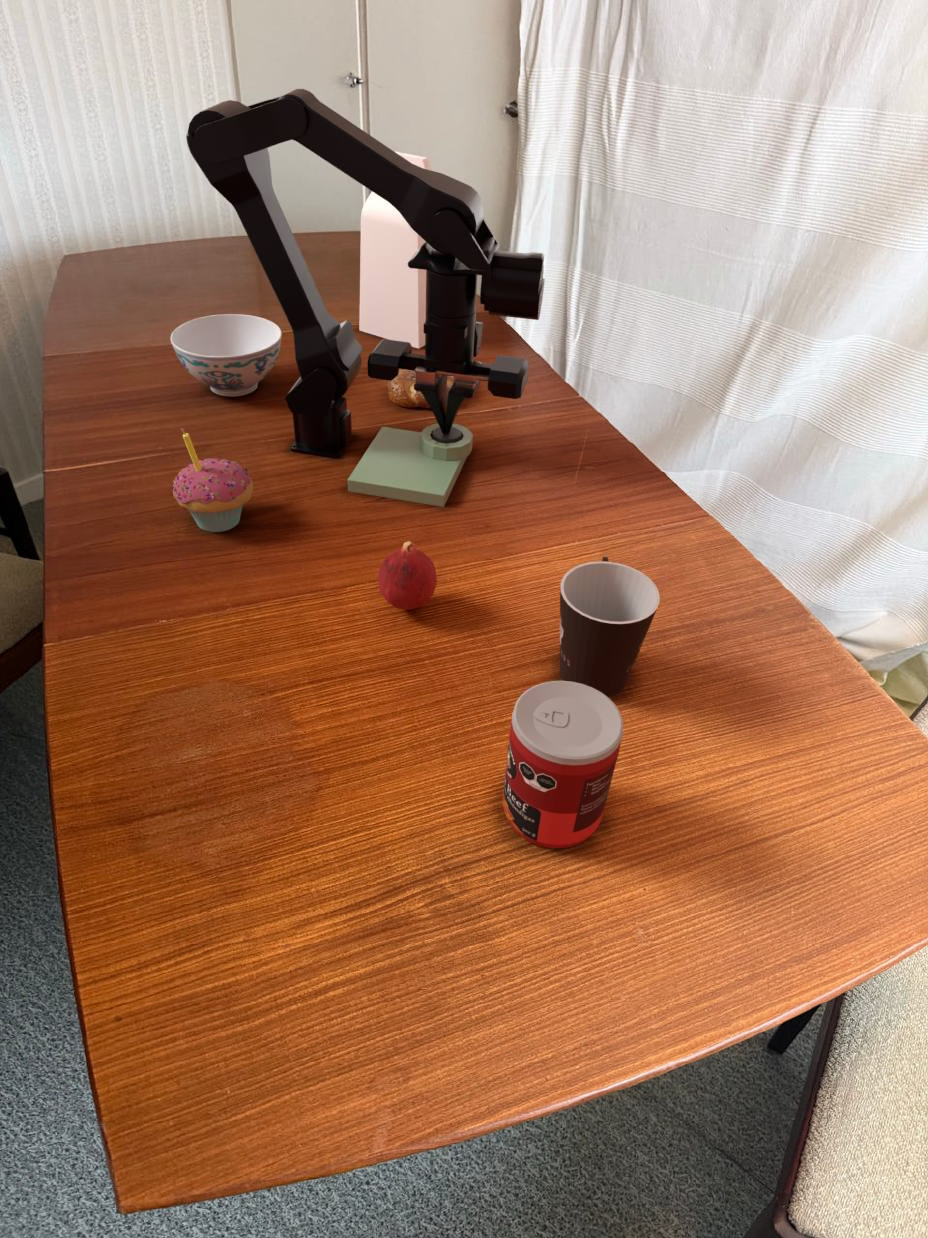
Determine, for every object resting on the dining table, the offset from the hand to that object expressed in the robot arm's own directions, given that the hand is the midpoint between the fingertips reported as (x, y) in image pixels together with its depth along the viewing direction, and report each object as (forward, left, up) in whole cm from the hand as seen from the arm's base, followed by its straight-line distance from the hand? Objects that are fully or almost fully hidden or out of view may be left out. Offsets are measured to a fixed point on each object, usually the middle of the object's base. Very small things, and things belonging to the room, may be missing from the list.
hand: (446, 432), depth 105 cm
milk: (-16, +40, -4) cm, 43 cm away
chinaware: (-34, +11, -4) cm, 36 cm away
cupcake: (-21, -21, -4) cm, 30 cm away
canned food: (+22, -51, -4) cm, 56 cm away
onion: (+4, -30, -4) cm, 30 cm away
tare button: (0, 0, -2) cm, 2 cm away
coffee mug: (+24, -33, -4) cm, 41 cm away
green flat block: (-3, -4, -4) cm, 6 cm away
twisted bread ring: (-7, +17, -4) cm, 19 cm away
